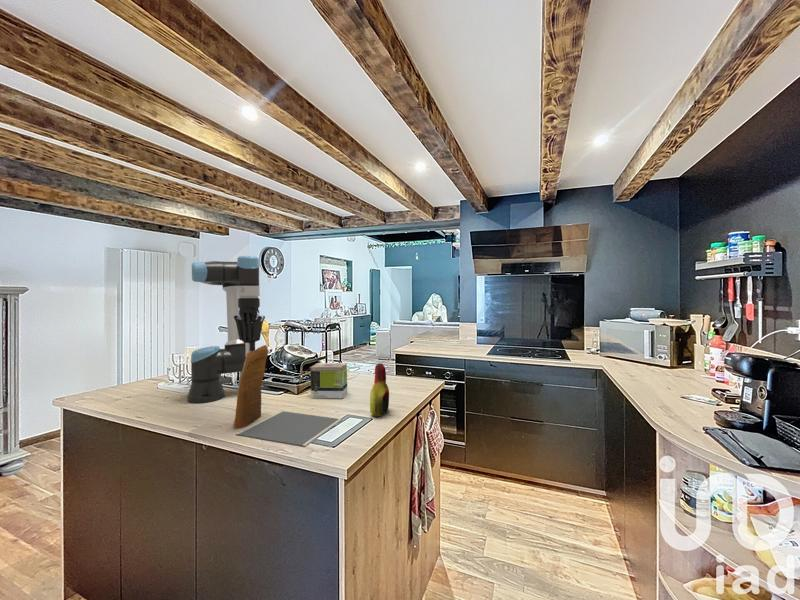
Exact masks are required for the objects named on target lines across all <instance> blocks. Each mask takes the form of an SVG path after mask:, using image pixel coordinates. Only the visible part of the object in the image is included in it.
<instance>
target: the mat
mask: <svg viewBox="0 0 800 600" xmlns="http://www.w3.org/2000/svg"><path fill="white" fill-rule="evenodd" d="M341 421H343V418H338V417H337V418H336V417H335V418H334V417H327V416H323V415H313V414H305V413H300V412H292V411H284V410H280V411H278V412H276V413H274V414H272V415H271V416H268V417H266V418H264V419H262V420H261V421H258V422H256V423H254V424H252V425H250V426H249V427H246V428H245V429H242V430H241V431H238V432H237V433H235V436H240V437H245V438H251V439H258V440H263V441H270V442H275V443H280V444H286V445H292V446H296V447H297V446H298V447H303V448H304V447H307V446H309V445H310V444H311V443H312V442H314V441H315V440H317V439H318V438H319V437H321V436H322V435H324V434H325V433H326V432H328V431H329V430H331V429H332V428H334V427H335V426H336V425H338V424H339V423H340V422H341Z"/></svg>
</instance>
